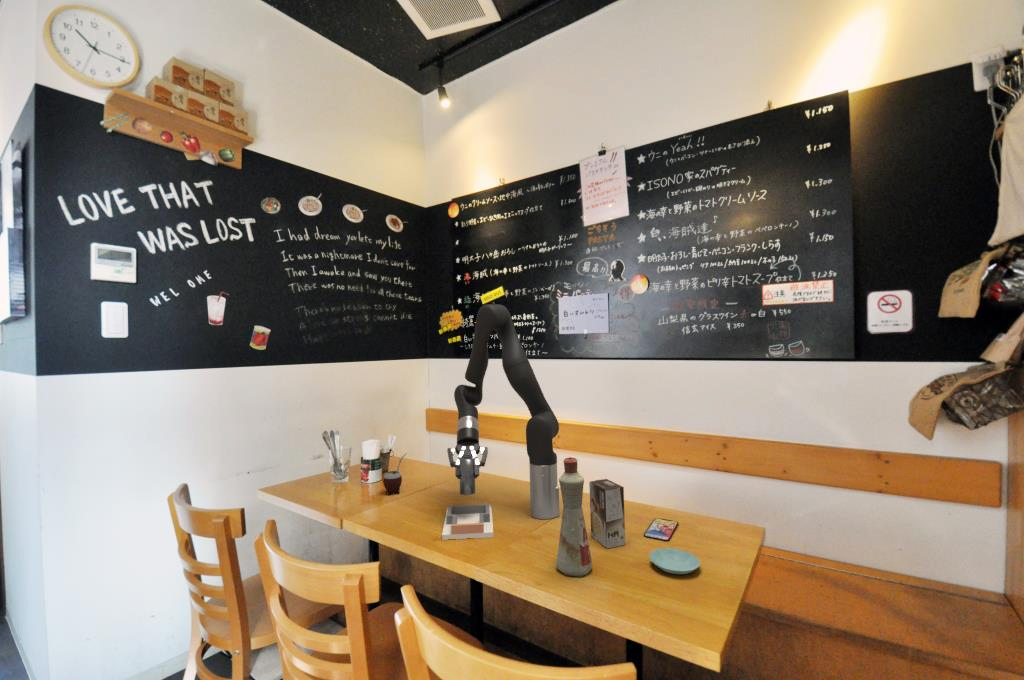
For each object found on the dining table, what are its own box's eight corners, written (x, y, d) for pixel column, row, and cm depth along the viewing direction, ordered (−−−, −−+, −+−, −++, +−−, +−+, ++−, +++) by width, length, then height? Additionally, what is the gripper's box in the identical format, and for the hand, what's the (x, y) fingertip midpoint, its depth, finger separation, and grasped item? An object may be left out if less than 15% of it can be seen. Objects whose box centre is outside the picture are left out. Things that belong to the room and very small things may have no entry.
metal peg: (475, 489, 145) (475, 456, 145) (475, 495, 140) (475, 460, 140) (460, 490, 144) (459, 456, 144) (459, 495, 139) (459, 460, 139)
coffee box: (626, 545, 123) (625, 487, 123) (606, 549, 121) (605, 490, 121) (608, 532, 132) (606, 478, 132) (589, 536, 129) (588, 481, 130)
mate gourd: (379, 495, 171) (379, 456, 171) (392, 488, 178) (392, 451, 178) (395, 497, 168) (394, 457, 168) (407, 490, 175) (407, 452, 175)
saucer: (705, 564, 111) (705, 555, 111) (692, 585, 102) (692, 575, 102) (659, 553, 118) (658, 544, 118) (642, 571, 109) (642, 561, 109)
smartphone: (642, 535, 128) (655, 517, 141) (642, 538, 128) (655, 520, 141) (668, 540, 124) (679, 521, 137) (669, 544, 124) (679, 524, 137)
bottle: (553, 561, 114) (550, 453, 115) (587, 559, 115) (585, 451, 116) (559, 579, 106) (556, 461, 106) (596, 576, 106) (593, 460, 107)
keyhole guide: (491, 510, 152) (491, 498, 152) (493, 537, 130) (493, 523, 130) (447, 512, 151) (447, 500, 151) (441, 540, 129) (441, 526, 129)
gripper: (446, 426, 150) (444, 472, 138) (488, 425, 151) (490, 470, 139) (447, 439, 155) (445, 484, 143) (488, 438, 156) (489, 482, 144)
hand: (467, 477), depth 141 cm, fingers closed on metal peg, 5 cm apart
